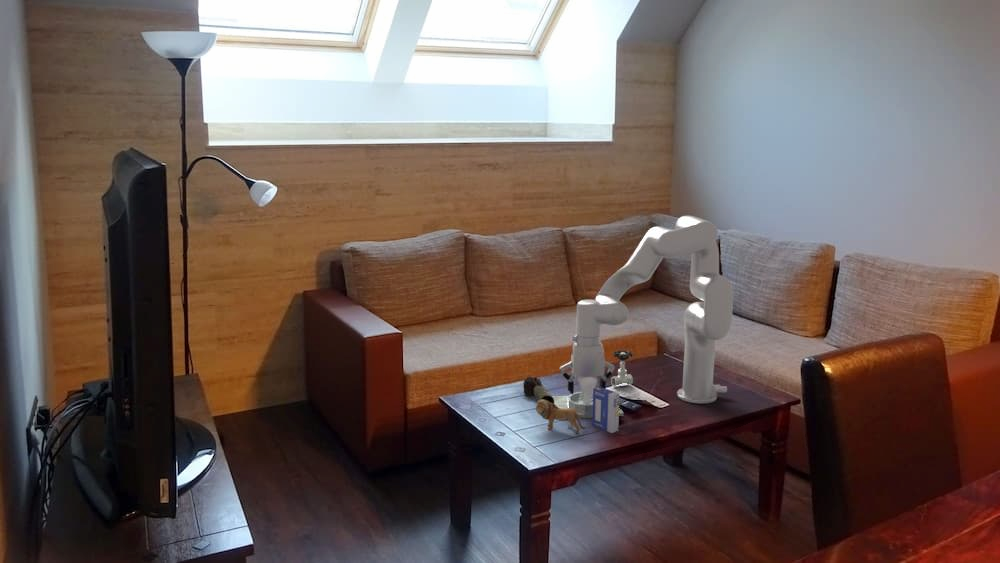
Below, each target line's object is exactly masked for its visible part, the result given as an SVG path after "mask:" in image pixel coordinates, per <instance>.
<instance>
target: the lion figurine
mask: <svg viewBox="0 0 1000 563" xmlns="http://www.w3.org/2000/svg"><path fill="white" fill-rule="evenodd" d="M535 405H536V406H535V411H536V413H537V414H538V415H539V416H540V417H542V419H543V420H548V423H549V424H547V427H548V428H547V431H549V432H550V431H552V430H553V428H554V422H555V420H556V421H565V420H568V422H569V423H570V425H568V426H567V428H568V429H572V428H573V427H574V428H575V430H574V433H575V434H579V433H580V428H581V429H582V430H584V431H585V430H586V427H585V426H583V425H582V423H581V418H579V416H578V414H577V412H576V411H575V410H573V409H571V408H567V409H562V408H558V407H557V406H556V405H555V404H553V403H550V402H549V401H547V400H543V399H542V400H539V401H538V400H537V401H536V404H535ZM575 417H577V418H576V419H577V421H576V419H575ZM577 422H578V423H577Z"/></svg>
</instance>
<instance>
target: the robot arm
mask: <svg viewBox="0 0 1000 563" xmlns="http://www.w3.org/2000/svg"><path fill="white" fill-rule="evenodd" d="M674 226H675V227H674V228H675V229H671V228H667V227H664V226H657V225H656V226H653V227H651V228H649V229H648V230H647V232H645V234H644V236H643V237H642V239H641V240H640V242H639V243H638V245H637V246H636V248H635V249H634V251H633V253H632V254H631V256H630V257H629V259H628V261H627V262H626V263H625V264H624V266H622V267H621V268H619V269H618V270H616V272H615V273H613V274H612V275H611V276H610V277H609V278H608V279H607V280H606V281H605V283H603V285H602V287H601V288H600V290H599V291H598V293H597V294H596V296H595V298H594V299H582V300H580V301H578V302H577V304H576V316H575V318H576V319H575V321H576V322H575V323H576V324H575V326H576V328H575V335H574V336H571V338H570V339H571V342H574V343H573V345H572V350H571V357H570V361H568V362H566V363H565V364H563V365H561V366H560V367H559V370H560V372H561V374H562V376H563V377H564V379H566V381H567V391H568V392H569V393H570V394H573V393H575V392H574V387H575V386H574V384H575V383H574V379H575V378H578V377H597V378H598V377H600V378H599V387H602V388H605V389H607V388H606V384H607V381H608V379H610V377H611V376H612V375H613V374H612V373H614V371H615V369H616V367H615V365H614V364H612V363H610V362H608V361H606V360H605V349H604V345H603V343H602V342H601V335H602V333H601V331H602V328H601V327H602V325H605V326H606V325H607V326H608V325H609V326H619V325H622V324H624V323H626V321H627V320H628V318H629V314H630V313H629V308H628V307H627V305H626V304H624V303H623V302H622V301H620V299H621V298H622V297H623V295H624V294H625V293H626V292H627V291H628V290H629V289H630V288H632V287H633V286H636V285H639V284H642V283H645V282H647V281H649V280H650V279H651V277H652V276H653V274H654V273H655V271H656V270H657V268H658V267H659V265H660V263H661V262H662V261H663V259H664V258H666V259H676V258H680V257H683V256H687V255H690V258H691V259H690V262H691V263H690V275H689V276H690V277H689V290H690V292H691V295H693V296H694V297H695V298H697V299H699V300H701V301H695V302H692V303H691V304H688V306H687V307H686V308H685V311H684V313H683V327H684V353H683V355H684V356H683V370H682V371H683V373H682V387H681V388H679V389H678V390H677V392H676V396H677V397H678V398H679V400H681V401H684V402H688V403H691V404H692V403H693V404H699V405H700V404H701V405H702V404H710V403H713V402H716V401H717V399H718V395H717V394H718V393H727V392H728V387H727V386H726V385H725V386H722V385H721V384H715V383H714V371H715V354H716V341H719V340H720V341H721V340H723V339H724V338H725V337H726V336H727V335H729V332H730V330H731V327H732V323H733V322H732V320H733V310H734V309H733V308H734V295H735V294H734V287H733V285H732V283H731V281H730V280H729V279H728V278H727V277H726V276H724V275H722V274H720V252H719V246H718V243H717V241H718V240H717V239H718V237H719V231H718V229H717V228H718V227H717V226H716V225H715V224H714V223H713V222H711V221H709V220H706V219H703V218H700V217H697V216H694V215H687V214H686V215H682V216H680V217H679V218H678V219H677V220H676V222H675V225H674ZM605 367H606V368H608V370H607V371H606V370H605V369H606V368H605ZM568 369H570V372H569V373H567V372H566V370H568ZM605 371H606V372H605Z"/></svg>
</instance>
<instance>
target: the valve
mask: <svg viewBox="0 0 1000 563" xmlns="http://www.w3.org/2000/svg"><path fill="white" fill-rule="evenodd" d="M612 352H613V355H614V356H613V357H616V358H617V359H618V360H619V361H620V362H619V367H620V368H618V370H617V374H618V375H617V376H616V375H614V376H612V377H611V378H610V384H611V386H612V387H613V386H616V385H619V384H622V383H627V384H630V385H632V384H634V378H633V376H632V374H630V373H629V374H627V373H628V372H627V371H628V370H627V369H626V362H625V361H626V360H629V358H633V357H634V355H633V352H632V351H630V350H629V351H627V350H626V349H623V350H621V349H617V350H614V351H612Z"/></svg>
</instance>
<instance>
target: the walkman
mask: <svg viewBox="0 0 1000 563" xmlns="http://www.w3.org/2000/svg"><path fill="white" fill-rule="evenodd" d="M619 407H620V393H618V392H616V391H612V390H610V389H608V388H606V389H605V388H602V387H600V386H596V387H595V388H594V389H593V415H592V418H591V419H592V420H591V425H592V426H593V427H596V428H598V429H600V430H603V431H605V432H607V433H610V434H613V433H617V432H619V424H620V423H619V421H620V420H619V419H620V417H619ZM616 431H617V432H616Z"/></svg>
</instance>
